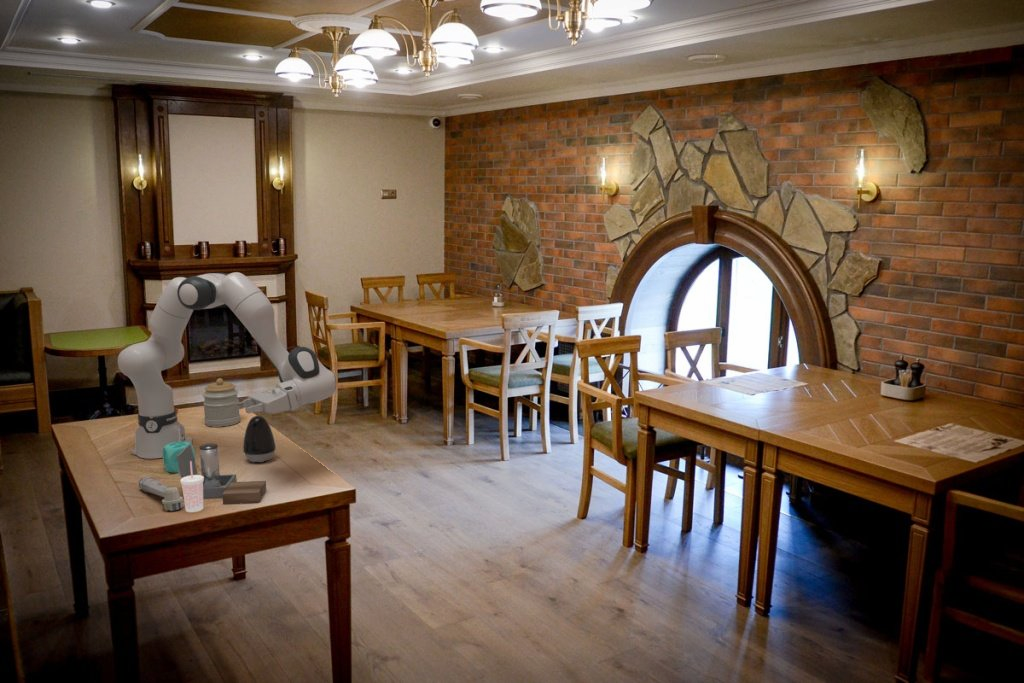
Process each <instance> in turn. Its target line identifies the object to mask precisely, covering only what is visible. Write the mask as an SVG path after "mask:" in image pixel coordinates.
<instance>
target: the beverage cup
mask: <svg viewBox="0 0 1024 683" xmlns="http://www.w3.org/2000/svg"><path fill="white" fill-rule="evenodd" d="M190 470H191V475H190V476H186V477H183V478H180V484H181V487H182V494H183V496H182V497H183V501H184V506H185V512H187V513H197V512H201V511H202V510H204V498H203V481H204V477H203V476H202V474H198V475H193V472H192V461H190Z"/></svg>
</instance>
